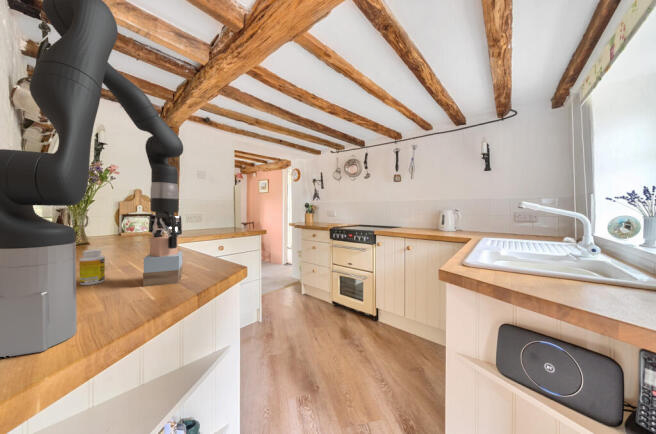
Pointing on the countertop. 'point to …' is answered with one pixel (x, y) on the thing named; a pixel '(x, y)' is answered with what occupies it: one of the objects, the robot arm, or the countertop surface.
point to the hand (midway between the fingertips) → (165, 247)
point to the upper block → (162, 263)
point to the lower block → (162, 277)
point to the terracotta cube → (161, 247)
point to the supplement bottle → (91, 267)
